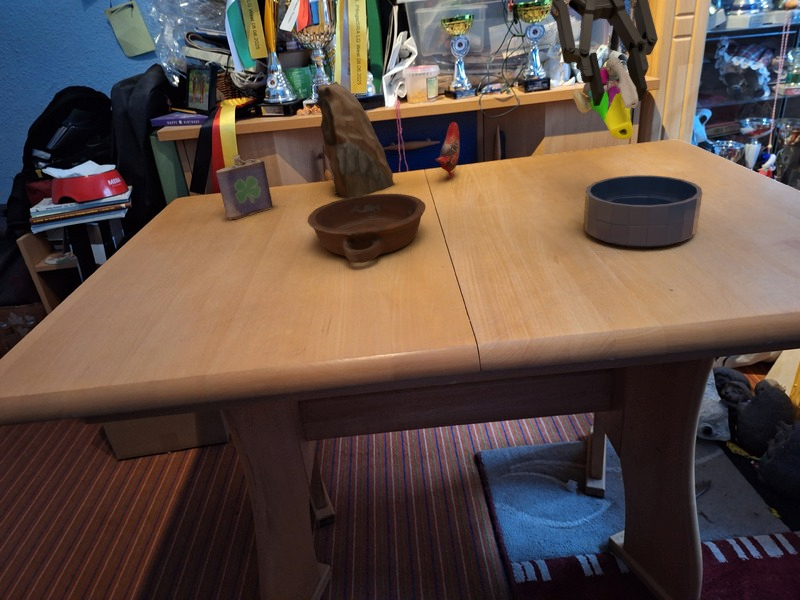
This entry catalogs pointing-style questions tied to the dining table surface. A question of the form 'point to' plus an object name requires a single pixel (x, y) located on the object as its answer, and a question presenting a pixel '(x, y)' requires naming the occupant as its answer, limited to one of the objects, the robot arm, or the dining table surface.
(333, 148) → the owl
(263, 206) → the flask
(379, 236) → the dish
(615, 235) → the bowl
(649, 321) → the dining table surface
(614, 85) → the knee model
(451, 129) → the decorative bird figurine
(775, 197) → the dining table surface
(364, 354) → the dining table surface
